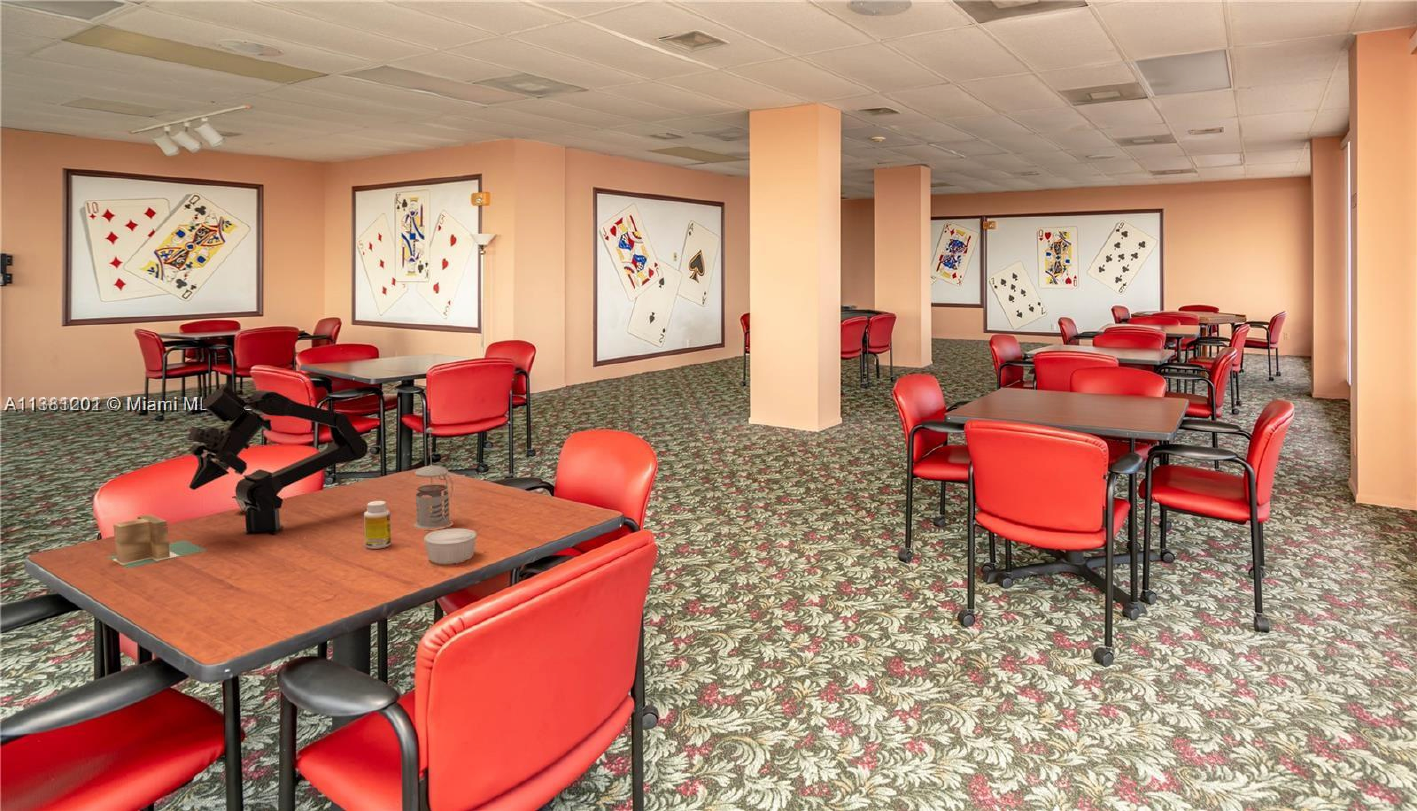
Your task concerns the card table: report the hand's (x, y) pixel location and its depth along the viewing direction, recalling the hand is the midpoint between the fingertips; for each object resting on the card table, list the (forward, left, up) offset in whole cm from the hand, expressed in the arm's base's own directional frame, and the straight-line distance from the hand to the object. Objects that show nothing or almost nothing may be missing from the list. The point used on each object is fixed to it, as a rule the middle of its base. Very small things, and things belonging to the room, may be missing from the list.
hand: (191, 488), depth 190 cm
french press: (-51, -13, -14) cm, 54 cm away
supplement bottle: (-41, +4, -14) cm, 43 cm away
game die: (-1, -31, -14) cm, 34 cm away
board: (+5, +6, -14) cm, 16 cm away
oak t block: (+8, +8, -13) cm, 17 cm away
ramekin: (-59, +15, -14) cm, 63 cm away
